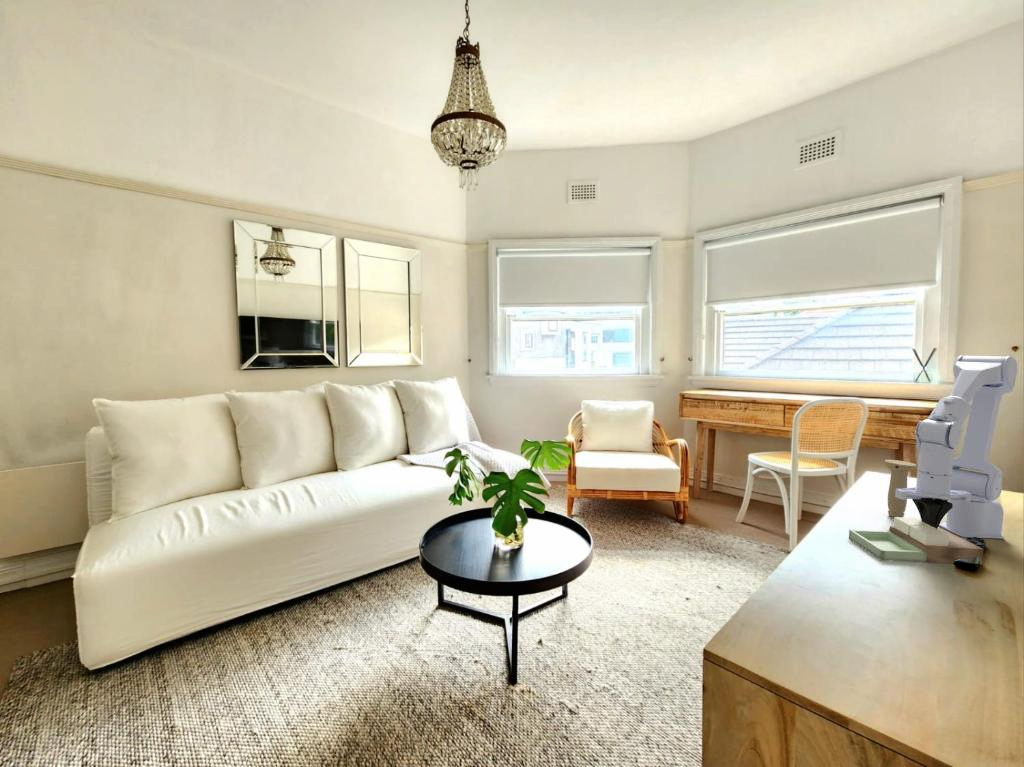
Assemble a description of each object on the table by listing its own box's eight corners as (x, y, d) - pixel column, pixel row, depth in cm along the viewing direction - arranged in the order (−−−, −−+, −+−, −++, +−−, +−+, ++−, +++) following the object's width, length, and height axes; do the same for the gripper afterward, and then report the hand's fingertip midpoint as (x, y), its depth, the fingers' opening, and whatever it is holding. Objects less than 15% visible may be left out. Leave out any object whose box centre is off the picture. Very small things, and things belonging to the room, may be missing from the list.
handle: (908, 522, 119) (912, 466, 117) (878, 514, 124) (882, 461, 122) (913, 518, 121) (918, 463, 120) (884, 510, 127) (888, 458, 125)
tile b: (931, 537, 102) (932, 526, 101) (948, 546, 97) (949, 534, 97) (909, 536, 102) (910, 525, 102) (925, 545, 98) (926, 534, 97)
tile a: (913, 528, 106) (914, 517, 106) (929, 536, 102) (930, 525, 102) (893, 527, 107) (894, 517, 107) (907, 535, 102) (908, 524, 102)
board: (938, 542, 107) (940, 527, 107) (981, 564, 96) (983, 548, 96) (888, 540, 108) (890, 525, 108) (925, 562, 97) (927, 546, 97)
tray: (888, 540, 108) (889, 531, 108) (925, 562, 97) (926, 552, 97) (848, 538, 109) (849, 529, 109) (880, 560, 98) (881, 550, 98)
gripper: (913, 476, 100) (908, 535, 101) (985, 478, 98) (980, 538, 99) (890, 467, 107) (886, 523, 108) (957, 469, 105) (952, 525, 106)
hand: (929, 529), depth 104 cm, fingers closed
